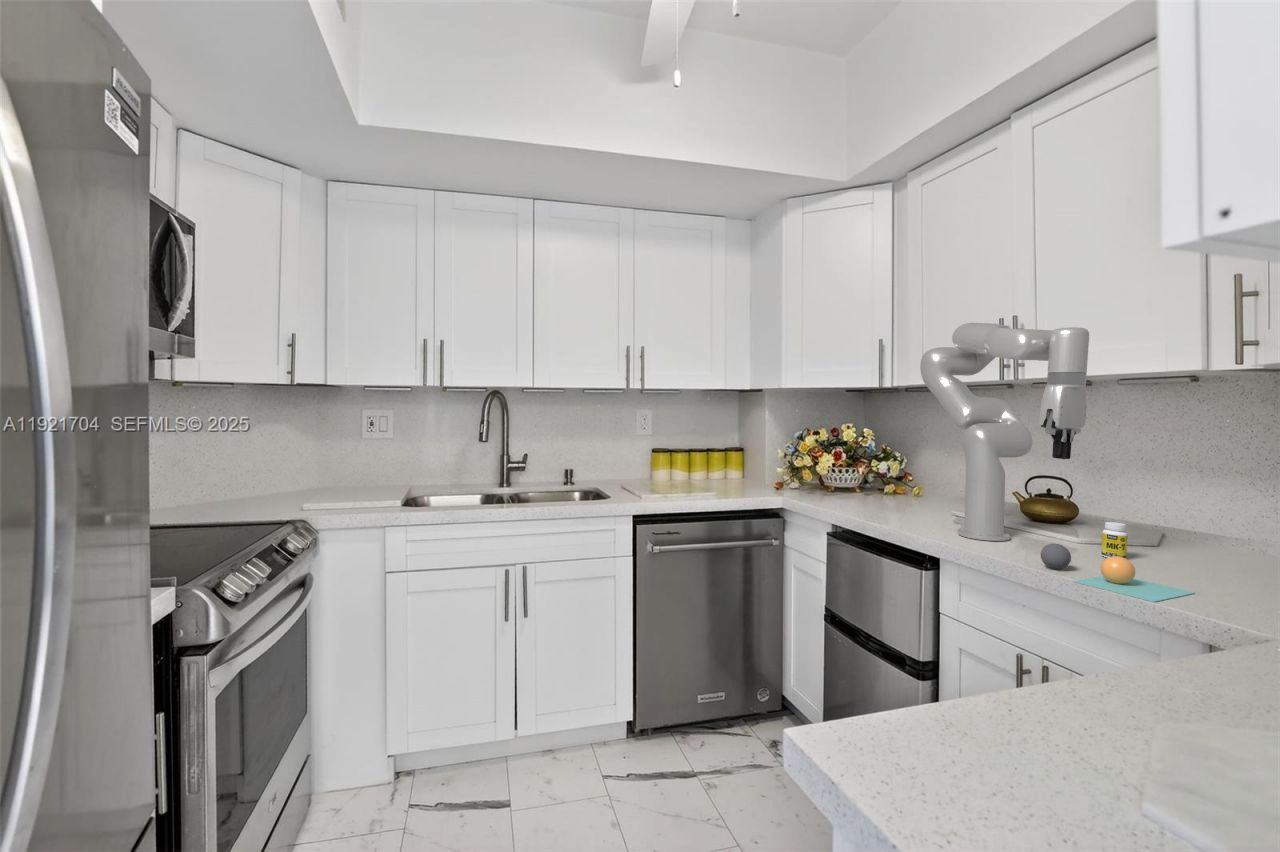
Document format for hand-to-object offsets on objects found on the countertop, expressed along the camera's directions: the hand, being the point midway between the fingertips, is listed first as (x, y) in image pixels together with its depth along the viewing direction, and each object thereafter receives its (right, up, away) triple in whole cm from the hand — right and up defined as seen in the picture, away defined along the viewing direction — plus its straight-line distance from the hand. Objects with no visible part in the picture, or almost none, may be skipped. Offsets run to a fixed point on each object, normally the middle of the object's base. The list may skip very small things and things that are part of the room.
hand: (1061, 458), depth 142 cm
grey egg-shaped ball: (-7, -21, -8) cm, 24 cm away
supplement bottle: (+14, -24, +2) cm, 28 cm away
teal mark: (-1, -25, -22) cm, 33 cm away
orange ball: (-2, -22, -19) cm, 29 cm away
